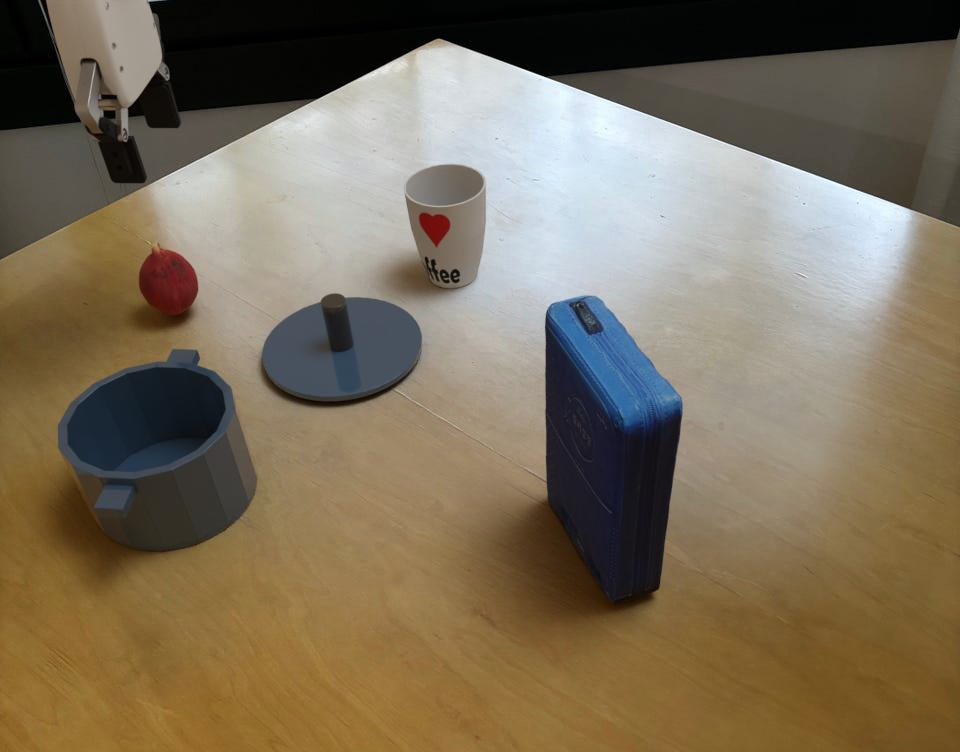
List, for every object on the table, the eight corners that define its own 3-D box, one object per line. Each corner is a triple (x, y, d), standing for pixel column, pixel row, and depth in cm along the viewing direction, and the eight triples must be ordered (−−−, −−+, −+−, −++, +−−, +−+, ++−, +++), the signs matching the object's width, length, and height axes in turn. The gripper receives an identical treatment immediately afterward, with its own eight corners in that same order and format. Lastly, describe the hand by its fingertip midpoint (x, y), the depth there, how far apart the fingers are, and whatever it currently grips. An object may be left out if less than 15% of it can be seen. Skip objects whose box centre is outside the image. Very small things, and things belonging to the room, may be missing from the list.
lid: (246, 403, 103) (229, 350, 98) (286, 305, 112) (273, 251, 107) (408, 409, 100) (399, 354, 96) (434, 308, 110) (428, 254, 105)
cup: (400, 275, 114) (387, 186, 106) (457, 243, 117) (449, 154, 109) (449, 306, 110) (439, 216, 102) (507, 272, 113) (502, 182, 105)
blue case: (536, 499, 92) (528, 297, 76) (593, 481, 93) (597, 277, 77) (608, 618, 83) (617, 418, 68) (670, 596, 84) (692, 394, 69)
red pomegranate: (218, 307, 113) (197, 238, 106) (179, 336, 110) (156, 267, 104) (178, 291, 115) (155, 222, 109) (140, 320, 112) (114, 251, 106)
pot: (57, 570, 91) (16, 497, 84) (135, 414, 103) (105, 340, 96) (222, 579, 89) (194, 506, 82) (282, 419, 101) (261, 344, 94)
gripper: (76, -98, 90) (140, 107, 103) (-9, -12, 79) (74, 204, 93) (161, -101, 89) (214, 107, 102) (85, -14, 78) (156, 205, 92)
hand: (148, 153), depth 98 cm, fingers open, 9 cm apart
